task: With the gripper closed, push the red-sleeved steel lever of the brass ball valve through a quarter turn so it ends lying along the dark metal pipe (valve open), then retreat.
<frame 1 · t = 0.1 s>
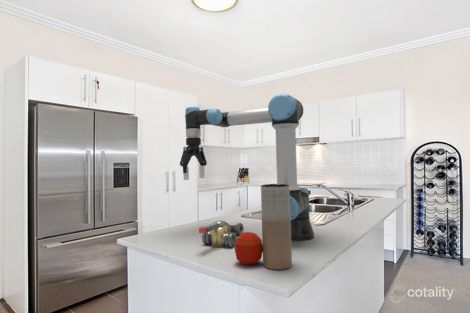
hand: (194, 178, 150), 28 cm above the counter, fingers open, 13 cm apart
pipe: (225, 237, 143), on the counter
valve pipe: (219, 245, 128), on the counter
apple: (248, 263, 105), on the counter
vase: (277, 265, 102), on the counter
lever: (212, 226, 123), point 9 cm above the counter, hinge at 90.0°
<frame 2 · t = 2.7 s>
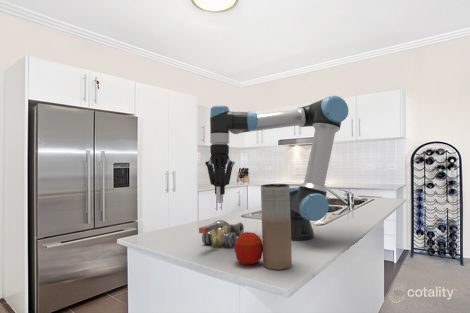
hand: (219, 202, 119), 20 cm above the counter, fingers closed
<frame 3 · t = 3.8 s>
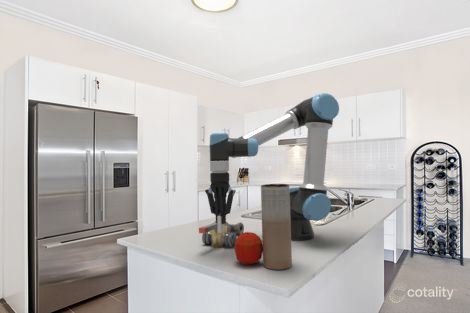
hand: (221, 231, 116), 9 cm above the counter, fingers closed
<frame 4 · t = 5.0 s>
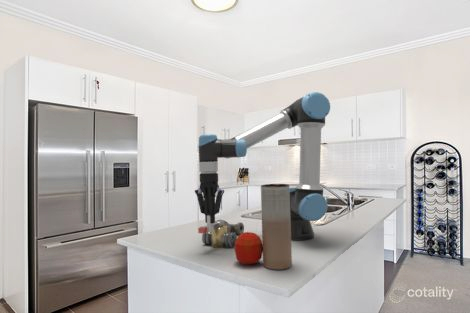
hand: (210, 231, 118), 9 cm above the counter, fingers closed
lever: (211, 226, 123), point 9 cm above the counter, hinge at 88.7°, touching gripper
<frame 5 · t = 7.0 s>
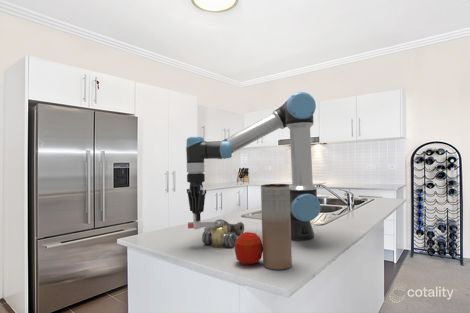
hand: (197, 228, 125), 8 cm above the counter, fingers closed
lever: (205, 224, 127), point 9 cm above the counter, hinge at 32.5°, touching gripper
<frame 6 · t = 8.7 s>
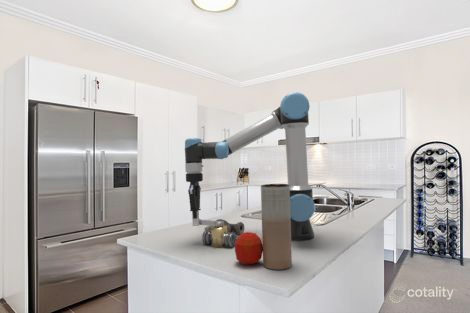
hand: (195, 225, 131), 8 cm above the counter, fingers closed
lever: (208, 222, 131), point 9 cm above the counter, hinge at -2.1°, touching gripper
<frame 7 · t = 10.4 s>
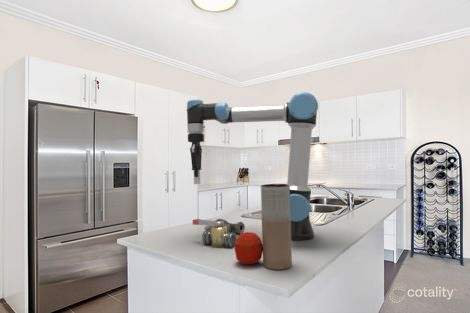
hand: (197, 184, 137), 26 cm above the counter, fingers closed
lever: (208, 222, 131), point 9 cm above the counter, hinge at -2.1°
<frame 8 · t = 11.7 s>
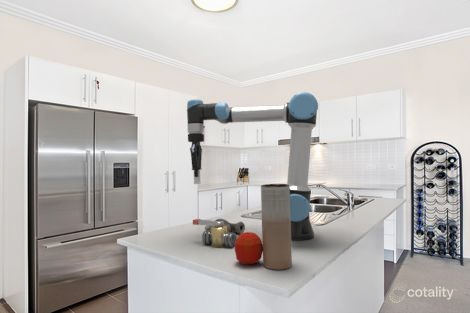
hand: (197, 183, 137), 26 cm above the counter, fingers closed
at the end: lever at -2° (first picture: +90°); lever touching nothing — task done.
